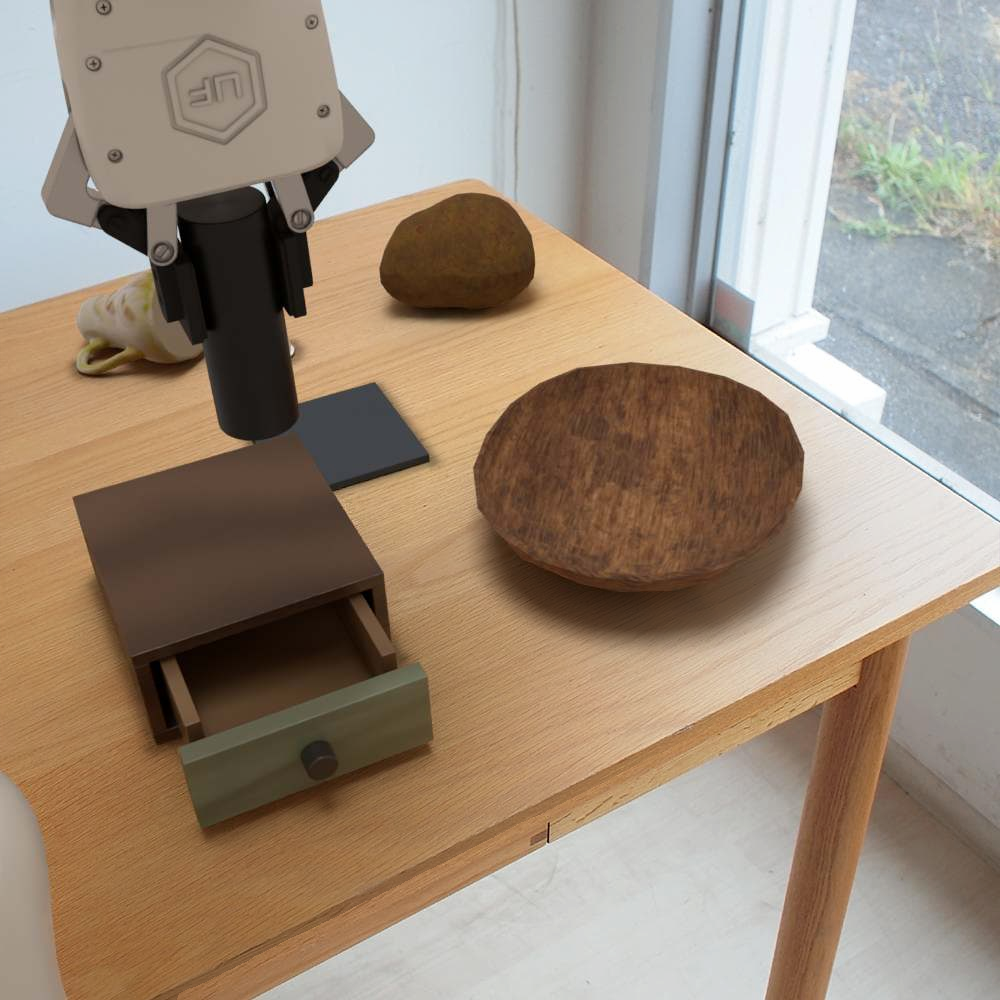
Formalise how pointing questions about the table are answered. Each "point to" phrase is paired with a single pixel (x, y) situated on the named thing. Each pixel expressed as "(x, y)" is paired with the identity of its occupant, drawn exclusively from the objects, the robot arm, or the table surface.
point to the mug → (131, 328)
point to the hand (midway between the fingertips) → (240, 312)
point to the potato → (459, 254)
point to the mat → (356, 436)
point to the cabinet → (220, 555)
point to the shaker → (241, 312)
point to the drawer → (291, 706)
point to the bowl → (639, 475)
